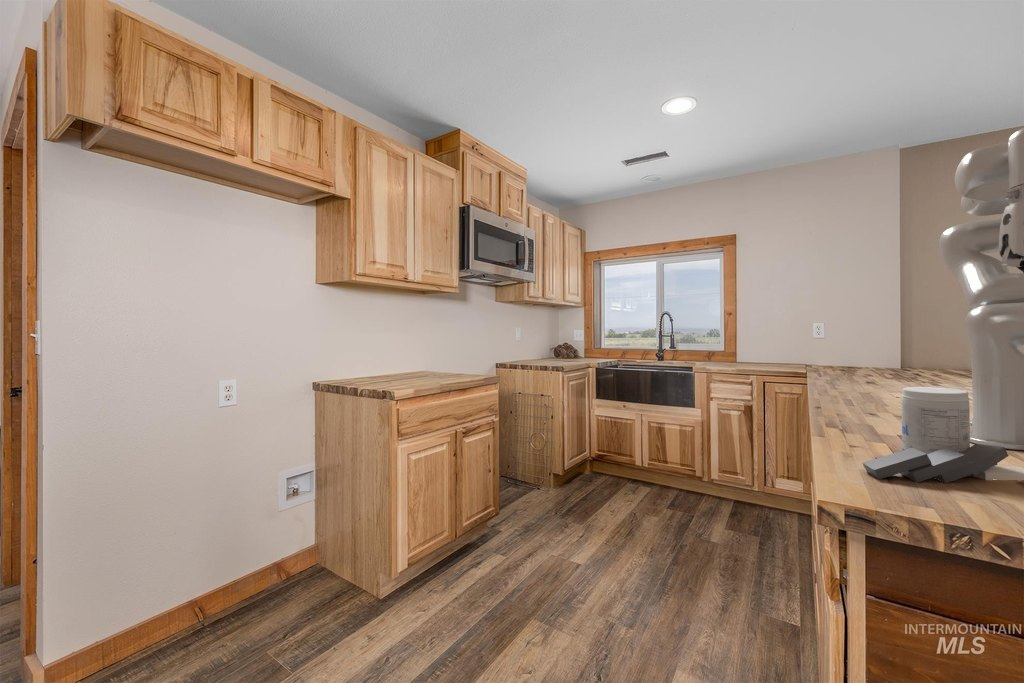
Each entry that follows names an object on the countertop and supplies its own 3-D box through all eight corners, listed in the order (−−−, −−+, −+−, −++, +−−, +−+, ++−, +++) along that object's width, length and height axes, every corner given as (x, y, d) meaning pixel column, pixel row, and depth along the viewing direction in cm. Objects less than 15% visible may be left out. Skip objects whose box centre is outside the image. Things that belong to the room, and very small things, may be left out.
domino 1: (862, 463, 80) (911, 447, 78) (866, 471, 80) (916, 456, 78) (874, 469, 76) (926, 453, 74) (879, 479, 76) (931, 463, 74)
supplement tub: (897, 454, 90) (896, 385, 90) (960, 459, 85) (958, 387, 85) (909, 466, 82) (907, 391, 82) (979, 473, 77) (977, 393, 77)
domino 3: (921, 466, 77) (970, 448, 76) (926, 475, 77) (975, 457, 76) (940, 473, 73) (992, 454, 72) (945, 483, 73) (997, 464, 72)
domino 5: (964, 465, 78) (1019, 466, 76) (964, 474, 78) (1019, 476, 76) (985, 472, 74) (1043, 474, 72) (985, 482, 74) (1044, 484, 72)
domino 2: (896, 465, 78) (945, 447, 76) (900, 474, 78) (950, 457, 76) (912, 473, 74) (964, 454, 72) (917, 482, 74) (970, 464, 72)
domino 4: (942, 463, 78) (975, 443, 79) (947, 472, 78) (980, 452, 79) (969, 467, 74) (1003, 446, 75) (974, 477, 74) (1008, 455, 75)
